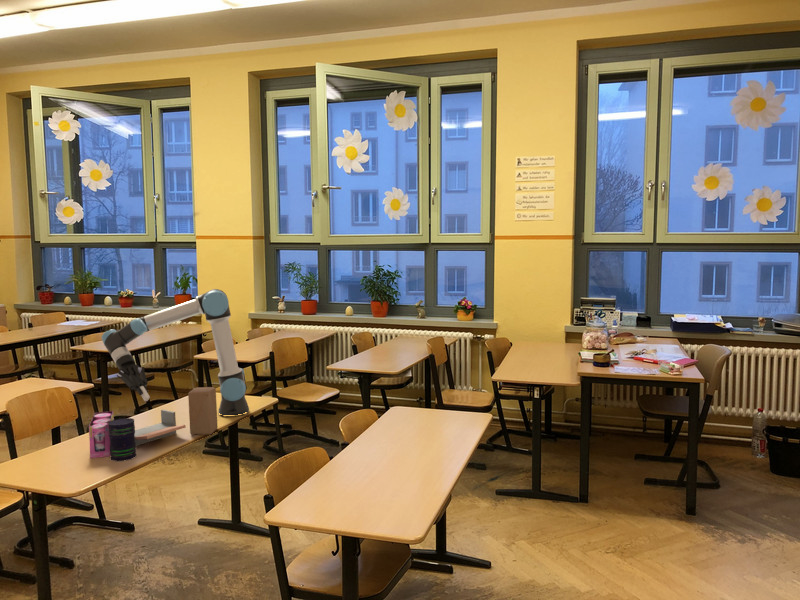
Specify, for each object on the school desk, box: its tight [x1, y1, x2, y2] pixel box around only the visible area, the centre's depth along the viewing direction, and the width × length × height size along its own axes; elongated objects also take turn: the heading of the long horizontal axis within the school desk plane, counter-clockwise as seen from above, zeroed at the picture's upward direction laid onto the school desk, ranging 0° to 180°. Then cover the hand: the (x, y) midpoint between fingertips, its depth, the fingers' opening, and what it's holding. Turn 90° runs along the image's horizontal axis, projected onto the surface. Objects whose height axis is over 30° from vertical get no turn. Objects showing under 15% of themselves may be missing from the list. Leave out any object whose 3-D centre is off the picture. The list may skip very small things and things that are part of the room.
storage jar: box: [108, 417, 137, 462], centre depth 252 cm, size 10×10×15 cm
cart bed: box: [134, 409, 177, 447], centre depth 276 cm, size 22×9×10 cm, turn 146°
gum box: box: [88, 410, 115, 459], centre depth 262 cm, size 24×8×14 cm, turn 20°
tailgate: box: [135, 424, 186, 440], centre depth 271 cm, size 19×1×9 cm
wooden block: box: [187, 386, 218, 436], centre depth 284 cm, size 10×10×20 cm
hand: (147, 399), depth 275 cm, fingers closed
